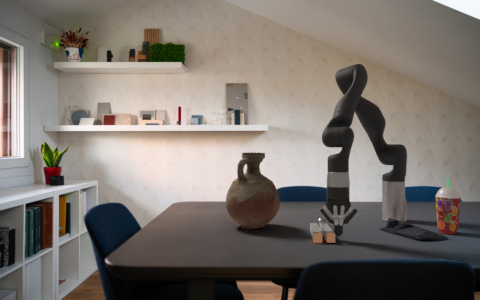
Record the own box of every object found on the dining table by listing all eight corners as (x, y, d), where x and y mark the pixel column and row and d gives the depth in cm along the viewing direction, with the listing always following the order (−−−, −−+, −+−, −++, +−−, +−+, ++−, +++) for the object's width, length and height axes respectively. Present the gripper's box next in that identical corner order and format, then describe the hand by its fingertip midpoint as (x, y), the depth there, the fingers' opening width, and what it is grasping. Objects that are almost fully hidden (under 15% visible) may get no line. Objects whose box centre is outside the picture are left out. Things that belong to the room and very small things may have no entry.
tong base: (309, 228, 148) (309, 217, 148) (325, 229, 147) (325, 217, 147) (313, 243, 125) (313, 229, 125) (333, 243, 125) (333, 230, 125)
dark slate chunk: (413, 243, 127) (413, 229, 127) (376, 230, 148) (376, 217, 148) (452, 241, 130) (452, 227, 130) (410, 228, 151) (410, 216, 151)
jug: (287, 224, 156) (287, 152, 156) (268, 235, 137) (268, 152, 136) (239, 220, 165) (239, 152, 165) (216, 230, 146) (215, 152, 146)
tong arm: (319, 230, 144) (319, 222, 144) (326, 230, 144) (326, 222, 144) (326, 242, 125) (326, 233, 125) (335, 242, 125) (335, 233, 125)
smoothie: (457, 231, 143) (458, 178, 143) (463, 236, 135) (463, 180, 135) (433, 229, 146) (433, 178, 146) (437, 234, 138) (437, 179, 138)
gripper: (355, 184, 132) (355, 233, 132) (317, 184, 134) (317, 233, 134) (360, 186, 125) (360, 238, 125) (319, 186, 126) (319, 237, 126)
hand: (338, 235), depth 129 cm, fingers closed
